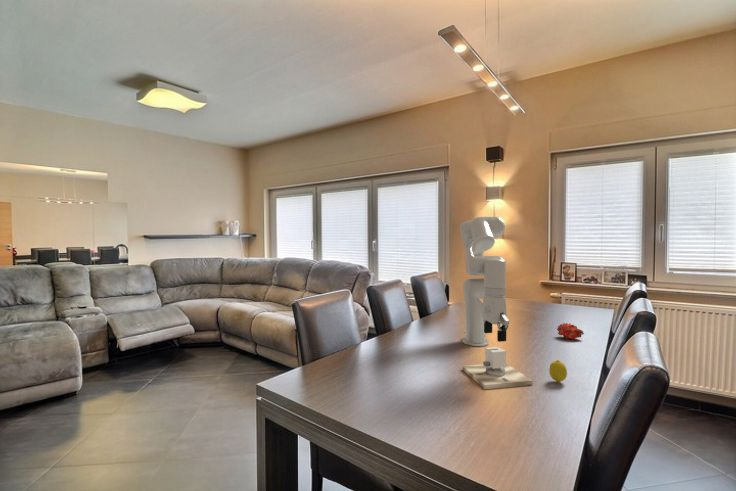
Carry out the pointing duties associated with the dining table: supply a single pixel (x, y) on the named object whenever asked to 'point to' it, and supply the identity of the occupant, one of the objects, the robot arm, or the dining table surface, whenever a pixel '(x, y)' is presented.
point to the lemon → (558, 371)
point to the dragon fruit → (569, 331)
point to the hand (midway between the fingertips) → (494, 336)
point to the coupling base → (496, 376)
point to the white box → (495, 357)
